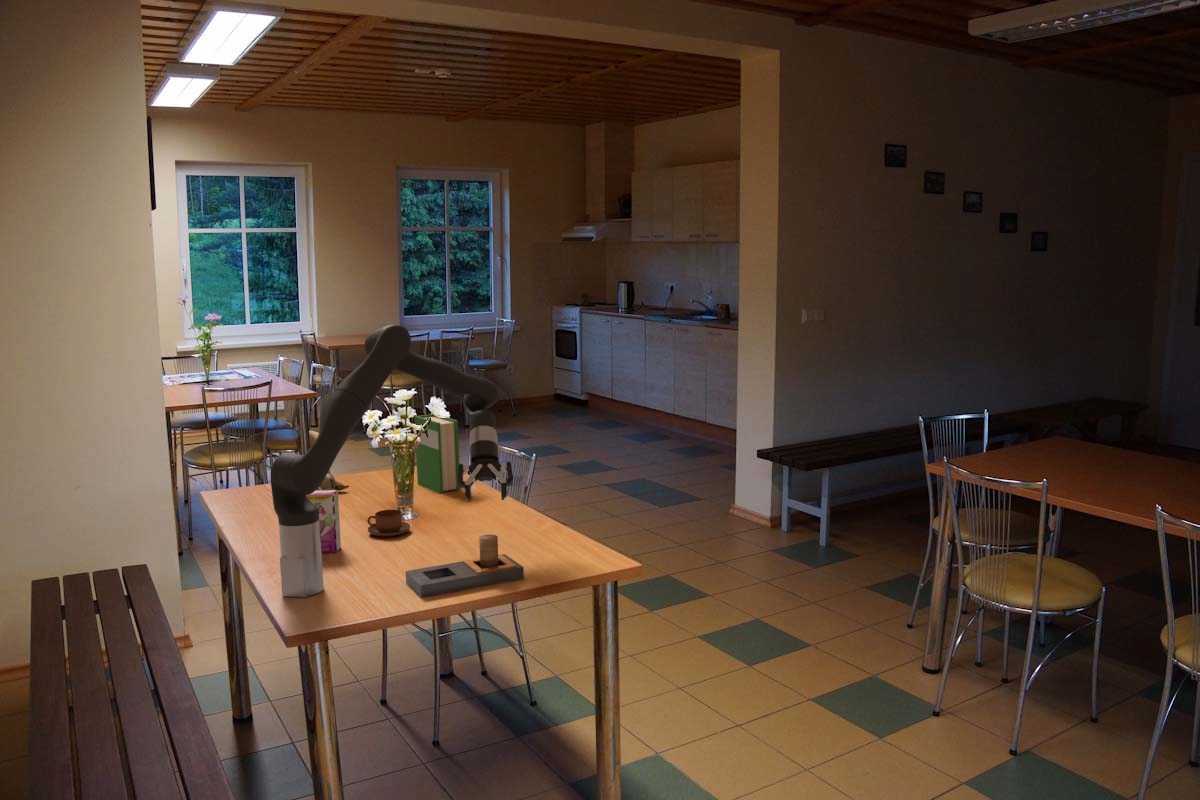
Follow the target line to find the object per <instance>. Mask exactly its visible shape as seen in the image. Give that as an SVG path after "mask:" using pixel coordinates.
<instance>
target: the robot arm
mask: <svg viewBox="0 0 1200 800" xmlns="http://www.w3.org/2000/svg"><path fill="white" fill-rule="evenodd" d="M411 346H412V337H411V334H410V333H409V330H408V329H407V328H406V327H404V326H402V325H400V324H389V325H386V326H383V327H381V328H378V329H375V330H374V331H372V332H371V333H370V334H368V335H367V336H366V338H365V340H364V351H365V353H366V355H367V357H366V358H364V359H365V360H364V361H363V362H362V363H361V364H360V365H358V366H357V367H356V368H355V369H354V370H353V371H351V373H349V374H348V375H347V376H346V377H345V378H344V379H343V380H342V381H341V382H340V383H339V384H338V385H337V386H336V388H335V389H334V390H333V391H332V393H331V395H330V396H329V397H328V399H327V400H326V401H325V403H324V405H323V407H322V409H321V414H320V423H319V424H320V425H319V432H318V435H317V437H316V439H315V440H314V442H313V443H312V445H311V446H310V448H309V449H308V450H307V451H306V452H305V453H304V454H299V453H290V452H288V453H287V452H285V453H283V454H281V455H278V456H277V457H276V458H275V460H274V461H273V463H272V466H271V469H270V486H271V494H272V503H273V508H274V512H275V514H276V516H277V519H278V520H277V521H278V531H279V533H278V535H279V547H280V558H279V568H280V580H281V581H280V582H281V583H280V584H281V597H291V598H292V597H293V598H308V597H310V596H313V595H316V594H319V593H320V592H323V590H324V588H325V587H324V571H323V557H322V555H323V554H322V553H321V539H320V523H319V510H318V508H317V507H316V506H315V505H314V504H313V503H311V502H310V500H309V499H308V498H307V496H306V495H308V494H311V493H313V492H315V491H316V490H317V489H318V488H319V487H320V485H321V484H322V482H323V481H324V479H325V477H326V475H327V473H329V472H330V469H331V467H332V466H333V464H334V462H335V461H336V459H337V456H338V454H339V452H340V451H341V450H342V448H343V446H344V445H345V443H346V441H347V440H348V439H349V437H350V435H351V434H352V432H353V430H355V428H356V426H357V425H358V424H359V423H360V421H362V418H363V416H364V415H365V414H366V412H367V411H368V410H369V408H370V405H371V404H372V403H373V401H374V399H375V398H376V397H377V395H378V393H379V392H380V391H381V389H382V387H383V385H384V384H385V383H386V380H387V379H388V378H389V377H390V375H391V374H392V373H393V372H394V371H395V370H397V371H399V372H402V373H403V374H404V373H405V374H406V375H410V376H412V377H414V378H417V379H419V380H421V381H423V382H426V384H429V385H432V386H433V387H436V388H437V389H439V390H441V391H442V392H444V393H446V394H448V395H450V396H452V397H454V398H460V397H463V396H464V397H463V400H462V401H463V402H462V405H463V408H464V410H465V412H466V416H467V418H468V421H469V460H470V461H469V462H470V464H469V465H464V464H463V463H459V466H458V487H459V488H460V489H464V494H465V497H464V498H465V500H466V501H467V502H472V495H471V494H472V492H471V491H472V489H471V488H472V487H473V485H475V484H476V483H477V481H479V482H484V481H486V482H492V480H493V481H494V482H495V483H496V484H499V486H500V492H501V493H500V497H501V501H504V500H505V499H506V498H507V497H508V491H507V490H508V489H507V487H508V486H514V476H513V475H514V474H513V468H512V463H511V461H507V462H506V463H500V456H499V441H498V434H497V423H496V422H497V421H496V416H495V415H494V413H493V412H492V411H490V410H487V409H489V408H490V407H492V406H493V405H495V403H497V402H498V401H499V399H500V397H501V392H500V389H499V387H498V386H497V385H496V384H495V382H493V381H492V380H490V379H487V378H484V377H482V376H477V375H473V374H469V373H465V372H463V371H461V370H460V369H458V368H456V367H455V366H453V365H451V364H448V363H446V362H444V361H442V360H441V361H440V360H439V359H435V358H430V357H427V356H424V355H420V354H418V353H416V352H414V351H412V350H411ZM501 470H503V473H506V475H507V477H506V478H505V477H503V475H502V473H500V471H501ZM467 472H469V473H470V475H469V477H468V478H467V479H466V481H465V480H464V475H466V474H467Z"/></svg>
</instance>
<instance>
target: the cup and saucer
mask: <svg viewBox="0 0 1200 800" xmlns="http://www.w3.org/2000/svg"><path fill="white" fill-rule="evenodd" d="M371 519H374V520H375V523H372V522H371V521H370V520H371ZM366 522H367V524H368V525H369V526H368V527H367V532H368V533H369V534H371V535H373V536H376V537H385V538H387V537H396V536H399V535H403V534H405V533H407V532H408V531H409V530H410V529H411V524H410V523H408V522H405V521H402V511H401V510H398V509H383V510H379V511H377V512H375V513H374V515H370V516H368V518H367V521H366Z"/></svg>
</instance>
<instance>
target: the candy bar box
mask: <svg viewBox="0 0 1200 800" xmlns="http://www.w3.org/2000/svg"><path fill="white" fill-rule="evenodd" d="M306 496H307V498H308V499H309V500H310V502H311V503H313V504H314V505H315V506H316V507H317V508H318V510H319V523H320V539H321V554H322V553H338V551H339V550H340V549H341V548H342V543H341V542H342V541H341V539H342V538H341V525H340V523H341V522H340V507H339V506H340V505H339V491H338V490H317V491H315V492H313V493H311V494H308V495H306Z"/></svg>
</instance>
